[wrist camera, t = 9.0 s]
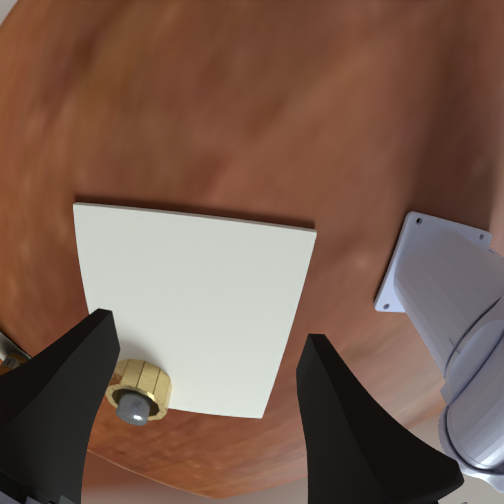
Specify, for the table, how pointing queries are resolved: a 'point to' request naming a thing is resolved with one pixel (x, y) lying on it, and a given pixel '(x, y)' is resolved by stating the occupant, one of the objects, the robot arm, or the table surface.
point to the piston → (134, 407)
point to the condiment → (10, 355)
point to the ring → (141, 385)
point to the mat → (196, 297)
